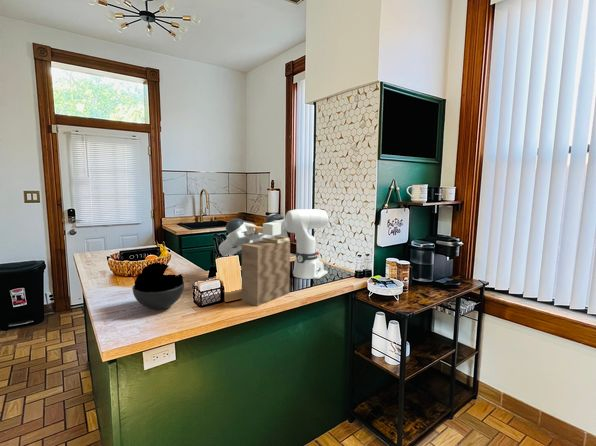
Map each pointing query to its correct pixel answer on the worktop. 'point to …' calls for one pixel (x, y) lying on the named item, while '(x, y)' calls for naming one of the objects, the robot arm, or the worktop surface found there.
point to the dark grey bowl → (157, 287)
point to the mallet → (268, 228)
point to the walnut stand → (265, 270)
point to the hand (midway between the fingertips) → (258, 228)
